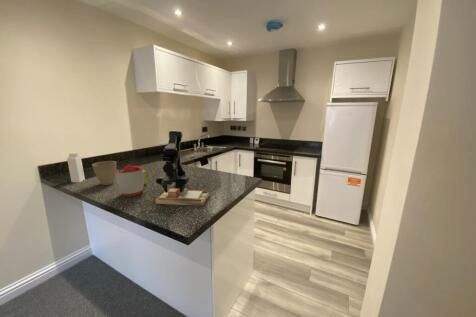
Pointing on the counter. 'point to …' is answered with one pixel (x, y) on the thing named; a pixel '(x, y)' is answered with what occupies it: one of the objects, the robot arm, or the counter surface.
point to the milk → (75, 168)
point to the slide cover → (190, 194)
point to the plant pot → (105, 171)
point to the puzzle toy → (145, 177)
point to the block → (173, 193)
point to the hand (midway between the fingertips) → (173, 193)
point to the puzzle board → (182, 199)
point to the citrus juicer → (130, 180)
